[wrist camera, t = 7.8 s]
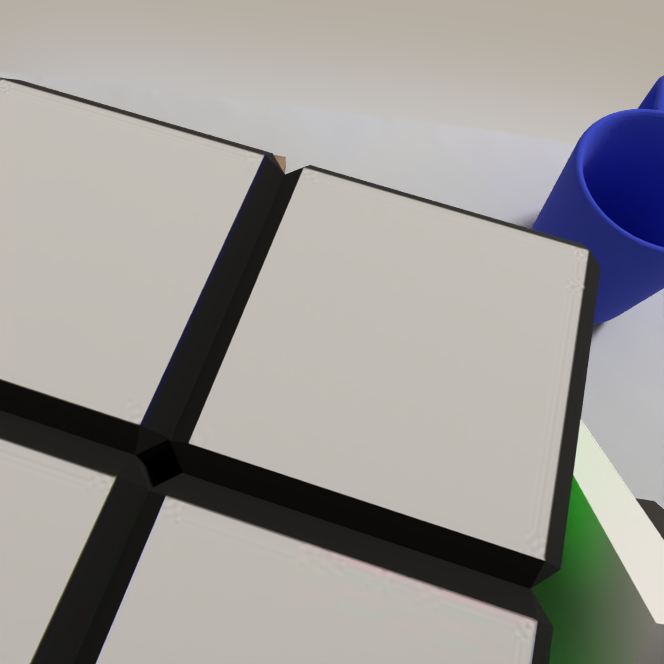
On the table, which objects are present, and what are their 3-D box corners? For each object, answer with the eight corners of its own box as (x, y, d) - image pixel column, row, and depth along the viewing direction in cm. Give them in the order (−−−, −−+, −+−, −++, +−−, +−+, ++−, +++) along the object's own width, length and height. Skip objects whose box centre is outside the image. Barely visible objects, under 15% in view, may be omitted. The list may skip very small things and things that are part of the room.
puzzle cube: (147, 319, 18) (-10, 57, 9) (446, 412, 17) (615, 235, 8) (-22, 660, 14) (-622, 833, 5) (357, 799, 13) (490, 1291, 4)
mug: (652, 205, 37) (770, 85, 28) (620, 363, 32) (748, 284, 23) (533, 163, 38) (609, 33, 28) (485, 312, 33) (557, 215, 24)
